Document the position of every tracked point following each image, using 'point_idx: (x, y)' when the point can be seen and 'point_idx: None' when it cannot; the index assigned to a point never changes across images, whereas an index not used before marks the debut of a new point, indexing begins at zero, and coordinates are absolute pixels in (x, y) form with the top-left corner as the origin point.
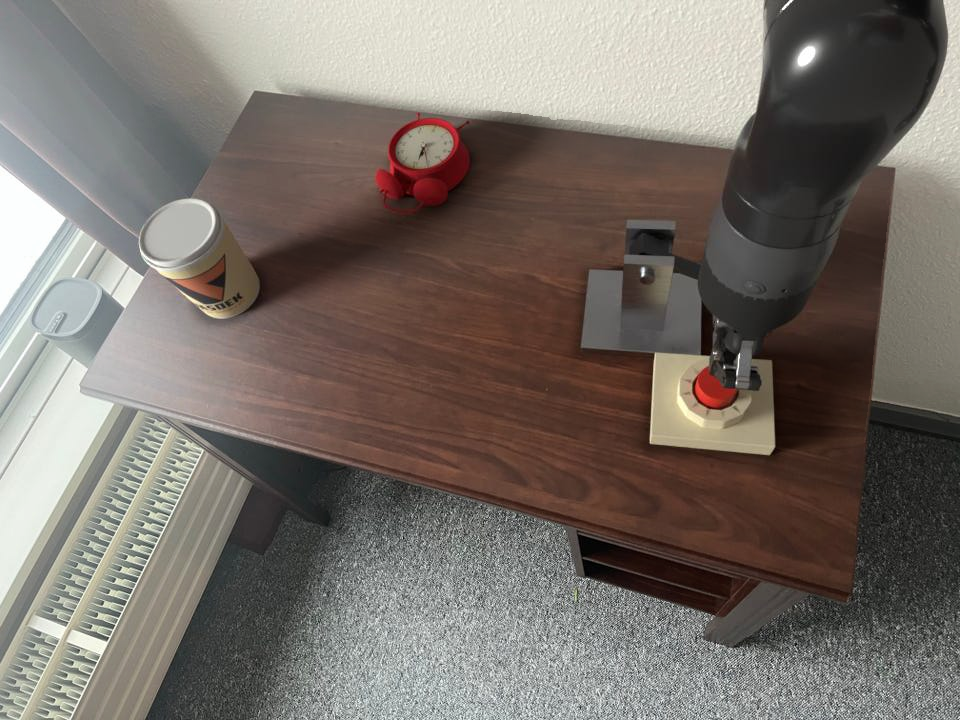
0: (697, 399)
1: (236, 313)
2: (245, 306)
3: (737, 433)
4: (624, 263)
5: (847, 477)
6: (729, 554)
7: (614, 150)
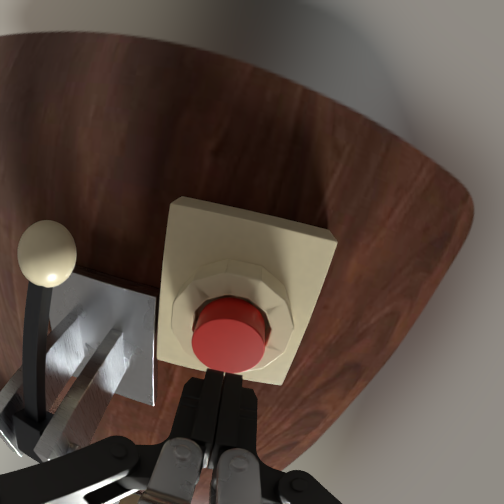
0: None
1: None
2: None
3: (303, 291)
4: None
5: (378, 132)
6: (425, 305)
7: None
